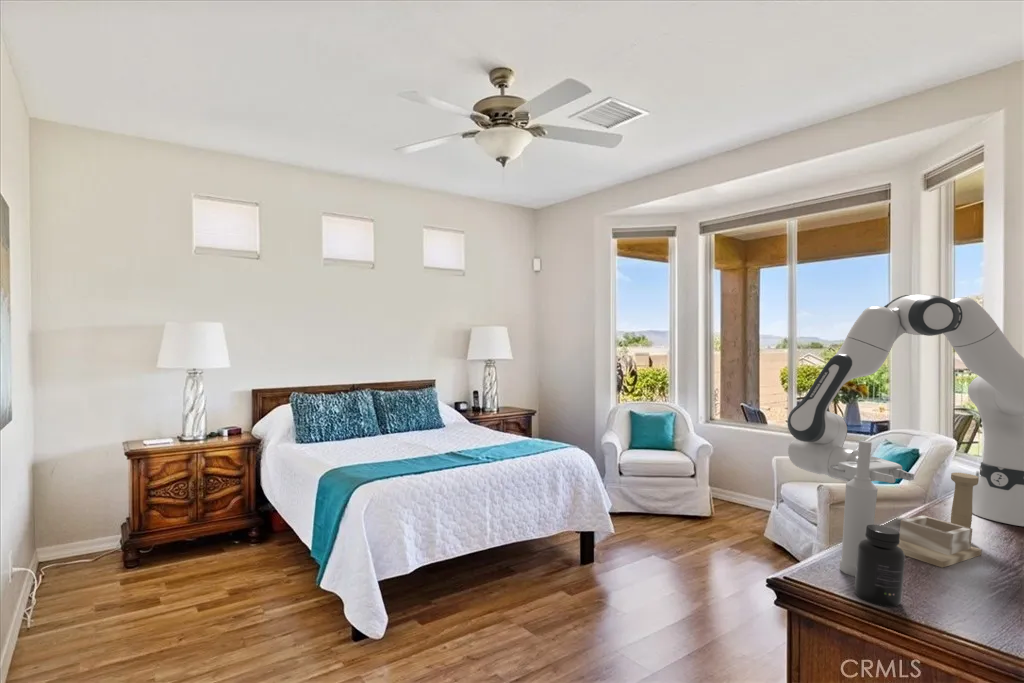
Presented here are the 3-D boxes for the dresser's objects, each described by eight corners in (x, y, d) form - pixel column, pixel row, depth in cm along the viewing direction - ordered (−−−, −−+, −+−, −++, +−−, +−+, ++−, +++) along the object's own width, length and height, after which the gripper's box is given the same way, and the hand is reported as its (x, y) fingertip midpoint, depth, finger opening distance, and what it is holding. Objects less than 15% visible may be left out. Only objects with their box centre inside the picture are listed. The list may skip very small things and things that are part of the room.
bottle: (847, 576, 106) (858, 443, 106) (833, 565, 112) (844, 437, 111) (876, 579, 106) (887, 445, 106) (860, 568, 111) (871, 440, 111)
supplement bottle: (845, 587, 102) (851, 520, 101) (885, 591, 101) (891, 523, 101) (867, 606, 95) (873, 534, 94) (910, 610, 94) (916, 537, 94)
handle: (975, 539, 134) (981, 476, 134) (969, 545, 130) (974, 479, 130) (950, 533, 138) (955, 471, 138) (943, 538, 134) (948, 474, 134)
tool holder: (918, 536, 134) (920, 512, 134) (981, 555, 124) (983, 529, 124) (878, 546, 125) (880, 521, 125) (942, 567, 115) (944, 540, 115)
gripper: (827, 455, 151) (883, 468, 139) (868, 452, 162) (924, 464, 150) (825, 478, 151) (881, 494, 139) (866, 474, 162) (921, 488, 150)
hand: (903, 478), depth 145 cm, fingers open, 8 cm apart
